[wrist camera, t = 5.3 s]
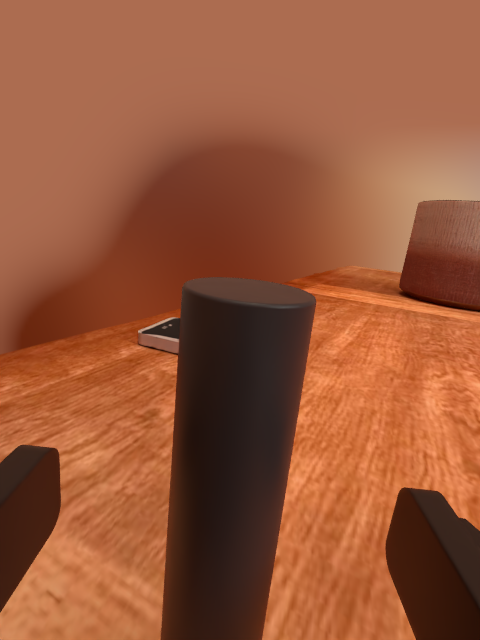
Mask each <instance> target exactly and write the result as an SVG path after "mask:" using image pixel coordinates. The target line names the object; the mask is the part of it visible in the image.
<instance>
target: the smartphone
mask: <svg viewBox="0 0 480 640" xmlns="http://www.w3.org/2000/svg"><path fill="white" fill-rule="evenodd" d="M179 334H180V318H168V319H166V320H163V321H161V322H158V323H156V324H153V325H151V326H149V327H146V328H144V329H141V330H139V331H138V343H139V344H140V345H144V346H148V347H152V348H156V349H160V350H164V351H168V352H172V353H176V354H178V351H179Z"/></svg>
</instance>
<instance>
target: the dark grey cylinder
mask: <svg viewBox="0 0 480 640" xmlns="http://www.w3.org/2000/svg"><path fill="white" fill-rule="evenodd" d="M315 307H316V299H315V297H314V296H313V295H312V294H310V293H308V292H306V291H304V290H301V289H298V288H295V287H291V286H287V285H283V284H278V283H273V282H267V281H260V280H251V279H242V278H222V277H217V278H200V279H194V280H190V281H187V282H186V283H184V285H183V287H182V302H181V318H180V334H179V351H178V367H177V383H176V400H175V416H174V432H173V448H172V465H171V481H170V497H169V514H168V530H167V546H166V562H165V579H164V595H163V611H162V628H161V640H262V635H263V629H264V623H265V616H266V610H267V604H268V598H269V592H270V585H271V579H272V573H273V567H274V561H275V554H276V548H277V542H278V536H279V530H280V524H281V517H282V511H283V505H284V499H285V493H286V486H287V480H288V474H289V468H290V462H291V455H292V449H293V443H294V437H295V431H296V424H297V418H298V412H299V406H300V400H301V393H302V387H303V381H304V375H305V369H306V362H307V356H308V350H309V344H310V338H311V331H312V325H313V319H314V313H315Z"/></svg>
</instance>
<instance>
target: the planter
mask: <svg viewBox="0 0 480 640" xmlns="http://www.w3.org/2000/svg"><path fill="white" fill-rule="evenodd" d="M399 287H400V289H401V290H402V291H403V292H404V293H406V294H407V295H409V296H412V297H414V298H417V299H420V300H424V301H427V302H431V303H436V304H440V305H445V306H450V307H456V308H462V309H469V310H477V311H480V201H462V200H460V201H459V200H436V201H423V202H420V203H419V204H418V207H417V211H416V216H415V220H414V225H413V229H412V233H411V237H410V242H409V246H408V250H407V254H406V258H405V262H404V266H403V271H402V275H401V279H400V286H399Z"/></svg>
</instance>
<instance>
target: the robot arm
mask: <svg viewBox="0 0 480 640" xmlns="http://www.w3.org/2000/svg"><path fill="white" fill-rule="evenodd" d="M60 506H61V494H60V463H59V453H58V450H57V449H55V448H49V447H39V446H30V445H20V446H18V447H17V448H16V449H15V450H14V451H13V452H12V453H11V454H9V455H8V456H7V457H6V458H5V459H4V460H3V461H2V462H1V463H0V612H1V611H2V609H3V608H4V606H5V604H6V603H7V601H8V600H9V598H10V597H11V595H12V594H13V592H14V591H15V589H16V587H17V586H18V584H19V583H20V581H21V580H22V578H23V577H24V575H25V573H26V572H27V570H28V569H29V567H30V566H31V564H32V563H33V561H34V559H35V558H36V556H37V555H38V553H39V552H40V550H41V549H42V547H43V545H44V544H45V542H46V541H47V539H48V538H49V536H50V535H51V533H52V531H53V529H54V527H55V525H56V522H57V519H58V516H59V512H60ZM386 559H387V565H388V569H389V572H390V575H391V577H392V580H393V582H394V585H395V587H396V590H397V592H398V595H399V597H400V600H401V602H402V605H403V607H404V610H405V613H406V615H407V618H408V620H409V623H410V625H411V628H412V630H413V633H414V635H415V638H416V640H480V531H479V530H478V529H476V528H475V527H474V526H473V525H472V524H471V523H469V522H468V521H467V520H466V519H463V518H458V516H457V515H456V514H455V512H454V511H453V509H452V508H451V506H450V505H449V504H448V502H447V501H446V499H445V498H444V496H443V495H442V494H441V493H440V492H438V491H432V490H423V489H414V488H402V489H401V490H400V492H399V494H398V497H397V501H396V505H395V509H394V513H393V516H392V520H391V524H390V528H389V532H388V535H387V540H386Z"/></svg>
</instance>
